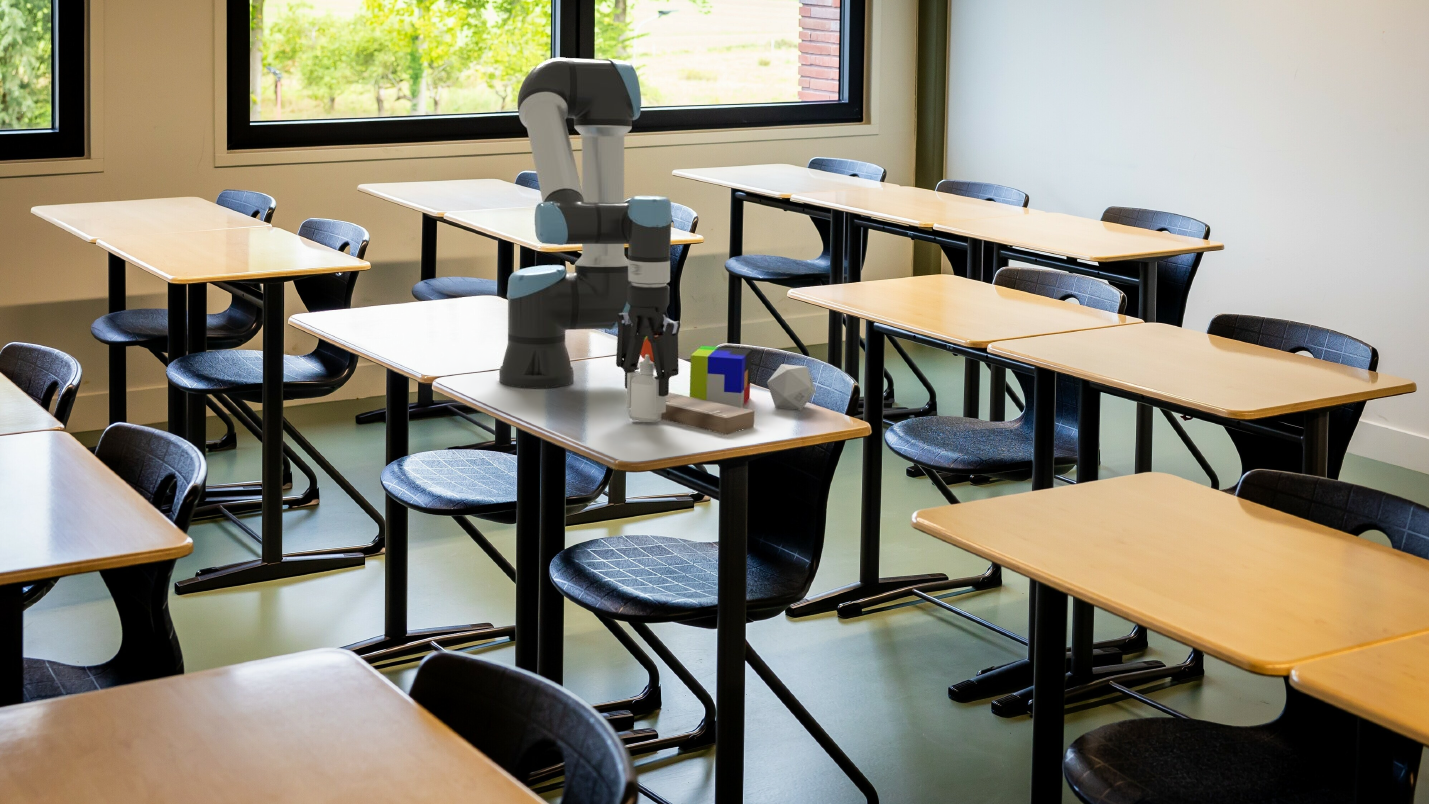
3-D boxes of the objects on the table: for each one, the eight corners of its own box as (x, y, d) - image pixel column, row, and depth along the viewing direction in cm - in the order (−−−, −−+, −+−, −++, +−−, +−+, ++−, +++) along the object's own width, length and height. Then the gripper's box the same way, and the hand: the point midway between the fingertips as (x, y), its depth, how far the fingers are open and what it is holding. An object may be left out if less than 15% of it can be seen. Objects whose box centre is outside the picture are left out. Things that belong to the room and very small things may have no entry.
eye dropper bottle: (647, 424, 254) (648, 359, 251) (626, 418, 258) (627, 354, 255) (665, 420, 257) (666, 356, 254) (644, 415, 261) (645, 351, 258)
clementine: (655, 367, 306) (656, 335, 305) (628, 363, 310) (629, 331, 308) (674, 361, 313) (675, 330, 311) (648, 357, 316) (649, 326, 315)
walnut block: (631, 412, 265) (631, 396, 264) (659, 405, 271) (659, 389, 270) (726, 434, 251) (726, 417, 250) (753, 426, 257) (754, 410, 256)
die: (786, 417, 267) (819, 376, 267) (752, 389, 270) (784, 348, 270) (797, 424, 275) (830, 384, 275) (764, 396, 278) (795, 357, 278)
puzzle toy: (740, 410, 270) (742, 358, 268) (689, 406, 272) (690, 355, 269) (749, 399, 279) (751, 349, 277) (700, 395, 281) (701, 346, 279)
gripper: (596, 279, 254) (594, 404, 260) (674, 291, 243) (670, 422, 248) (624, 276, 260) (622, 398, 265) (702, 287, 249) (698, 415, 254)
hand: (646, 409), depth 257 cm, fingers closed on eye dropper bottle, 6 cm apart
